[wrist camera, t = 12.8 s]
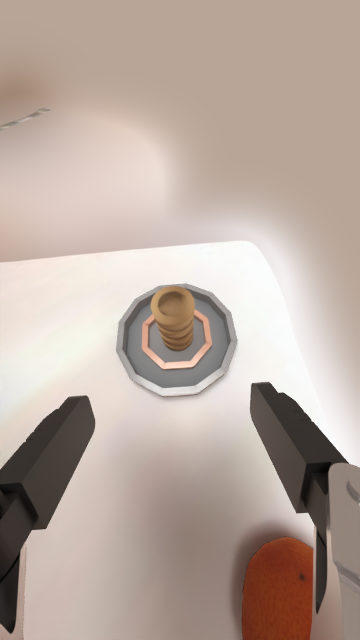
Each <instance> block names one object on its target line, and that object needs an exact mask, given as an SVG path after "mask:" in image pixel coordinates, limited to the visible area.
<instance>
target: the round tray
mask: <svg viewBox="0 0 360 640" xmlns="http://www.w3.org/2000/svg"><path fill="white" fill-rule="evenodd" d="M168 286H179V287H182V288H185V289H186V290H188V291H189V292H190V293H191V294H192V296H193V298H194V303H195V305H194V326H193V340H192V343H191V345H190V346H189V347H188V348H187V349H185V350H183V351H172V350H170V349H168V348H167V347H166V346H165V344H164V342H163V339H162V337H161V334H160V332H159V329H158V326H157V324H156V321H155V318H154V316H153V313H152V311H151V300H152V298H153V296H154V295H155V294H156V293H157V292H158V291H159V290H161V289H162V288H165V287H168ZM236 344H237V337H236V332H235V328H234V323H233V319H232V315H231V312H230V311H229V310H228V309H227V308H226V307H225V306H224V305H223V304H222V303H221V302H220V301H219V300H218V298H217V297H216V296H215V295H214V294H213V293H211V292H209V291H206V290H203V289H200V288H198V287H195V286H192V285H189V284H175V285H162V286H158V287H156V288H154V289H153V290H151V291H149V292H147V293H145V294H143V295H142V296H140V297H138V298H136V299H135V300H134V301H133V303H132V304H131V306H130V307H129V308H128V310H127V311H126V313H125V314H124V315H123V317H122V318H121V320H120V321H119V327H118V336H117V346H116V352H117V354H118V356H119V358H120V360H121V362H122V364H123V366H124V368H125V369H126V371H127V373H128V375H129V377H130V379H131V380H133V381H135V382H137V383H139V384H140V385H142V386H144V387H146V388H148V389H149V390H151V391H153V392H155V393H157V394H159V395H160V396H162V397H167V396H183V395H195V394H198V393H200V392H201V391H202V390H204V389H205V388H206V387H208V386H209V385H211V384H212V383H213V382H214V381H216V380H217V379H218V378H220V377H221V376H222V375H224V374H225V373H226V372H227V369H228V366H229V363H230V361H231V358H232V355H233V353H234V350H235V347H236Z"/></svg>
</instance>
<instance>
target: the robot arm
mask: <svg viewBox="0 0 360 640" xmlns="http://www.w3.org/2000/svg"><path fill="white" fill-rule="evenodd" d="M250 413H251V417H252V421H253V423H254V425H255V427H256V429H257V432H258V434H259V436H260V438H261V440H262V442H263V444H264V446H265V448H266V450H267V453H268V455H269V457H270V459H271V461H272V463H273V465H274V467H275V469H276V471H277V474H278V476H279V478H280V480H281V482H282V484H283V486H284V488H285V490H286V492H287V494H288V497H289V499H290V501H291V503H292V505H293V507H294V509H295V511H296V513H309V515H310V517H311V519H312V521H313V523H314V525H315V526H314V551H313V606H312V625H311V633H310V640H360V468H359V467H357V466H354V465H351V464H349V463H348V462H347V461H346V460H345V458H344V457H343V456H342V455H341V454H340V453H339V451H338V450H337V449H336V448H335V447H334V446H333V444H332V443H331V442H330V441H329V440H328V439H327V437H326V436H325V435H324V434H323V433H322V432H321V430H320V429H319V428H318V427H317V426H316V425H315V423H314V422H312V421H311V419H310V418H309V416H308V415H307V414H306V413H304V411H303V409H302V408H301V407H300V406H299V405H298V404H297V402H296V401H295V400H293V399H292V398H291V397H289V396H288V395H286V394H285V393H278V392H277V391H276V389H275V388H274V387H273V386H272V384H271V383H270V382H260V383H252V385H251V400H250ZM94 429H95V418H94V415H93V411H92V408H91V404H90V401H89V398H88V396H86V395H84V396H71V397H68V398H67V399H66V400H65V402H64V403H63V404H62V405H61V406H60V408H59V409H56V410H55V411H53V412H52V413H51V414H49V415H48V416H47V417H46V418H44V419H43V420H42V422H41V423H40V424H39V425H38V426H37V427H36V429H35V430H34V432H32V433H31V434H30V436H29V437H28V438H27V439H26V442H24V443H23V444H22V445H21V446H20V447H19V448H18V450H17V451H16V452H15V453H14V454H13V455H12V457H11V458H10V459H9V460H8V461H7V462H6V464H5V465H4V466H3V467H2V468H1V469H0V640H24V635H23V622H24V598H25V574H26V544H25V541H26V540H27V538H28V536H29V534H30V532H31V530H39V529H46V528H47V526H48V524H49V522H50V520H51V518H52V516H53V514H54V512H55V510H56V508H57V506H58V504H59V502H60V500H61V498H62V496H63V494H64V492H65V490H66V488H67V485H68V483H69V481H70V479H71V477H72V475H73V473H74V471H75V469H76V467H77V465H78V463H79V461H80V459H81V457H82V455H83V453H84V451H85V449H86V447H87V445H88V443H89V441H90V439H91V437H92V435H93V432H94Z"/></svg>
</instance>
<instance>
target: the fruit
mask: <svg viewBox="0 0 360 640" xmlns="http://www.w3.org/2000/svg"><path fill="white" fill-rule="evenodd" d="M313 551H314V549H312V548H311V547H309V546H308V545H306V544H305V543H303V542H301V541H300V540H297V539H294V538H290V537H283V538H278V539H276V540H274V541H271V542H268V543H266V544H264V545H263V546H262V547H261V548H260V549H259V550H258V551H257V552H256V553H255V555H254V556H253V557H252V558H251V560H250V562H249V564H248V567H247V570H246V575H245V581H244V586H243V601H242V633H243V640H310V633H311V625H312V606H313Z"/></svg>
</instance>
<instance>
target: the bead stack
mask: <svg viewBox="0 0 360 640" xmlns="http://www.w3.org/2000/svg"><path fill="white" fill-rule="evenodd" d="M194 305H195V303H194V298H193V296H192V294H191V293H190V292H189V291H188V290H186V289H185V288H182V287H179V286H168V287H165V288H162V289H161V290H159V291H158V292H157V293H156V294H155V295H154V296H153V298H152V300H151V311H152V313H153V316H154V318H155V321H156V324H157V326H158V329H159V332H160V334H161V337H162V339H163V342H164V344H165V346H166V347H167V348H168V349H170V350H172V351H183V350H185V349H187V348H188V347H189V346H190V345H191V343H192V340H193V326H194Z"/></svg>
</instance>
